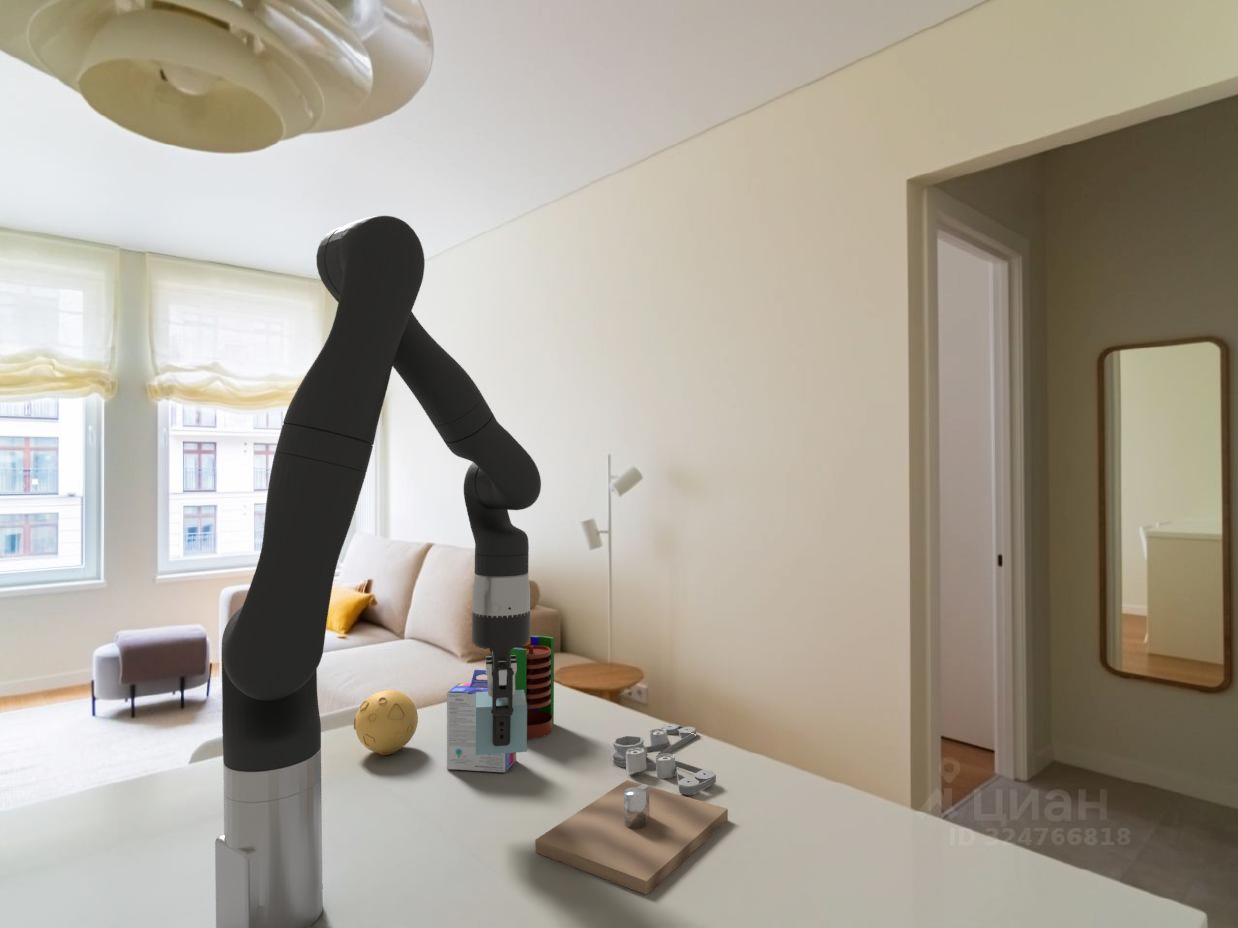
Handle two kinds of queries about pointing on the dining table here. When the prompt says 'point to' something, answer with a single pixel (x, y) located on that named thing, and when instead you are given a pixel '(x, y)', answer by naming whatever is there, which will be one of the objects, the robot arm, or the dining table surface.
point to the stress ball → (386, 721)
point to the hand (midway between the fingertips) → (500, 734)
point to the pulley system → (661, 757)
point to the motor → (537, 683)
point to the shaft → (636, 806)
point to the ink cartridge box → (469, 731)
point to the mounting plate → (632, 837)
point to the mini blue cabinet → (486, 724)
